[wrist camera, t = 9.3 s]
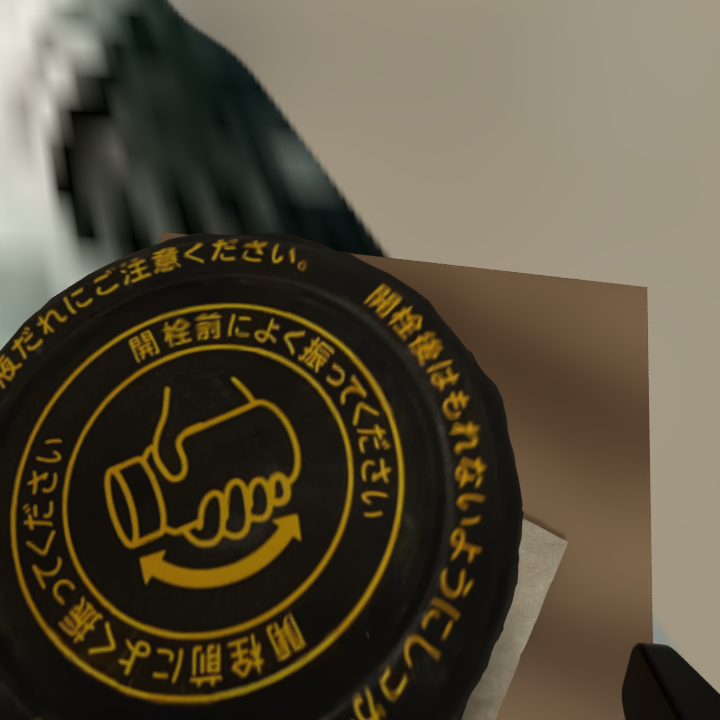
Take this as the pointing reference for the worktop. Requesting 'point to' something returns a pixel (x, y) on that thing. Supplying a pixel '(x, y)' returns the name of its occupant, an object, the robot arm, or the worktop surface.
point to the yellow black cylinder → (257, 497)
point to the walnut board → (565, 464)
